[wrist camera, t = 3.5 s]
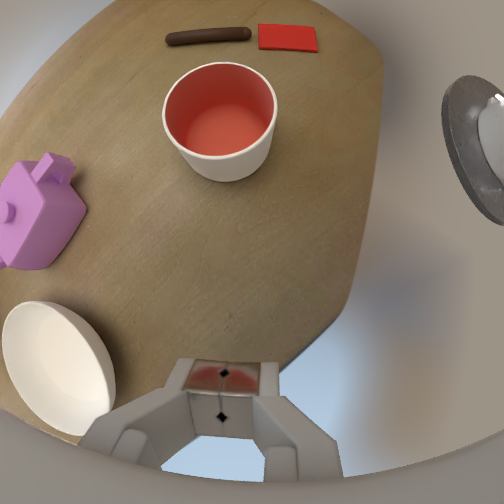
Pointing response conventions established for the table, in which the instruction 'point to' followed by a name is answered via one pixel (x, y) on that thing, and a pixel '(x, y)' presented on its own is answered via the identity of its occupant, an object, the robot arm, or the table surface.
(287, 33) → the spatula
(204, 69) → the cup
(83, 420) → the bowl
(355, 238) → the table surface
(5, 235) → the teapot
